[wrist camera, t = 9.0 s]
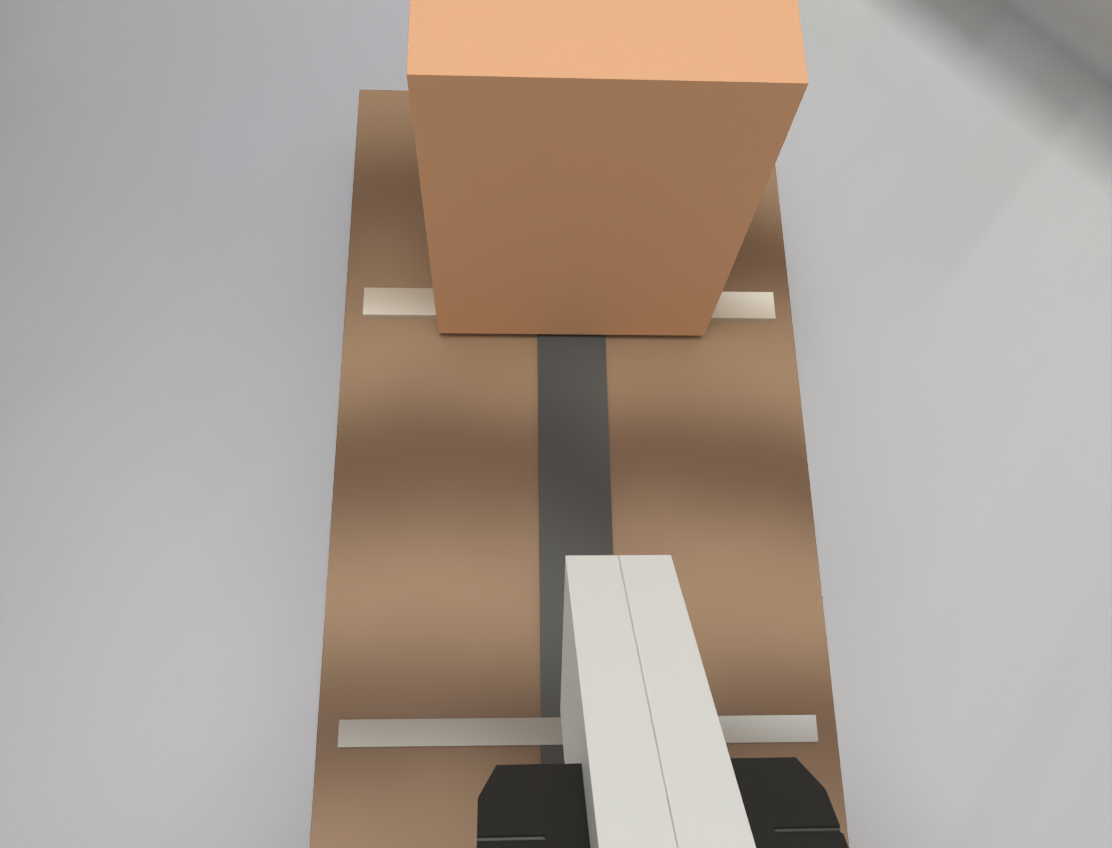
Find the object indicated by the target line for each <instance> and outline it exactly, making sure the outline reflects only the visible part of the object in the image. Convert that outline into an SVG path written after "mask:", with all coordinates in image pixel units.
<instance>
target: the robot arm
mask: <svg viewBox="0 0 1112 848" xmlns="http://www.w3.org/2000/svg"><path fill="white" fill-rule="evenodd" d="M560 714H561V726H562V738H563V750H564V762H565V764H514V765H496V766H495V768H494V770H493V772H492V774H491V775H490V777H489V779H488V781H487V782H486V784H485V786H484V788H483V789H482V791H481V793H480V795H479V797H478V809H477V848H849V847H848V844H847V842H846V839H845V837H844V834H843V833H841V832H840V824H839V822H838V819H837V817H836V814H835V812H834V809H833V806H832V804H831V801H830V799H829V796H828V794H827V791H826V789H825V788H824V787H823V786H822V785H821V783H820V782H819V781H818V780H817V779H816V778H815V777H814V776H813V775H812V774H811V773H810V772H809V771H808V770H807V769H806V768H805V767H804V766H803V764H802V763H801V762H800V761H799V760H798V759H797V758H796V757H772V758H730V756H729V753H728V749H727V746H726V743H725V739H724V736H723V732H722V729H721V725H720V722H719V718H718V715H717V712H716V708H715V705H714V701H713V698H712V694H711V691H710V688H709V684H708V681H707V677H706V674H705V670H704V667H703V664H702V660H701V657H700V653H699V650H698V646H697V643H696V640H695V636H694V633H693V629H692V626H691V622H690V619H689V615H688V612H687V609H686V605H685V602H684V598H683V595H682V591H681V588H680V585H679V581H678V578H677V574H676V571H675V567H674V564H673V561H672V557H671V555H569V556H565V583H564V613H563V642H562V672H561V702H560Z"/></svg>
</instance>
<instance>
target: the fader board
mask: <svg viewBox="0 0 1112 848" xmlns="http://www.w3.org/2000/svg"><path fill="white" fill-rule="evenodd" d="M569 555H671V557H672V561H673V564H674V567H675V571H676V574H677V578H678V581H679V585H680V588H681V591H682V595H683V598H684V602H685V605H686V609H687V612H688V615H689V619H690V622H691V626H692V629H693V633H694V636H695V640H696V643H697V646H698V650H699V653H700V657H701V660H702V664H703V667H704V670H705V674H706V677H707V681H708V684H709V688H710V691H711V694H712V698H713V701H714V705H715V708H716V712H717V715H718V718H719V722H720V725H721V729H722V732H723V736H724V739H725V743H726V746H727V749H728V753H729V756H730V758H772V757H796V758H797V759H798V760H799V761H800V762H801V763H802V764H803V766H804V767H805V768H806V769H807V770H808V771H809V772H810V773H811V774H812V775H813V776H814V777H815V778H816V779H817V780H818V781H819V782H820V783H821V785H822V786H823V787H824V788H825V789H826V791H827V794H828V796H829V799H830V801H831V804H832V806H833V809H834V812H835V814H836V817H837V819H838V822H839V824H840V832H841V833H843V834H844V837H845V839H846V842H847V844H848V847H849V842H848V833H847V824H846V814H845V805H844V796H843V787H842V777H841V768H840V759H839V750H838V740H837V731H836V722H835V713H834V704H833V694H832V685H831V676H830V667H829V657H828V648H827V639H826V630H825V621H824V611H823V602H822V593H821V584H820V574H819V565H818V556H817V547H816V537H815V528H814V519H813V510H812V501H811V491H810V482H809V473H808V464H807V454H806V445H805V436H804V427H803V418H802V408H801V399H800V390H799V381H798V371H797V362H796V353H795V344H794V334H793V325H792V316H791V307H790V298H789V288H788V279H787V270H786V261H785V251H784V242H783V233H782V224H781V215H780V205H779V196H778V187H777V178H776V168H775V165H774V167H773V170H772V172H771V175H770V177H769V180H768V182H767V184H766V187H765V189H764V192H763V194H762V196H761V199H760V201H759V204H758V206H757V209H756V211H755V213H754V216H753V218H752V221H751V223H750V226H749V228H748V230H747V233H746V235H745V238H744V240H743V243H742V245H741V247H740V250H739V252H738V255H737V257H736V260H735V262H734V264H733V267H732V269H731V272H730V274H729V277H728V279H727V281H726V284H725V286H724V289H723V291H722V293H721V296H720V298H719V301H718V303H717V306H716V308H715V310H714V313H713V315H712V318H711V320H710V323H709V325H708V327H707V330H706V332H705V335H704V336H694V335H584V334H474V333H438V326H437V317H436V309H435V301H434V293H433V285H432V276H431V268H430V260H429V252H428V244H427V236H426V227H425V219H424V211H423V203H422V195H421V186H420V178H419V170H418V162H417V154H416V146H415V137H414V129H413V121H412V113H411V105H410V97H409V91H394V90H360V92H359V107H358V122H357V137H356V152H355V168H354V183H353V198H352V213H351V228H350V243H349V259H348V274H347V289H346V304H345V319H344V335H343V350H342V365H341V380H340V395H339V410H338V426H337V441H336V456H335V471H334V486H333V502H332V517H331V532H330V547H329V562H328V577H327V593H326V608H325V623H324V638H323V653H322V669H321V684H320V699H319V714H318V729H317V745H316V760H315V775H314V790H313V805H312V820H311V836H310V848H477V809H478V797H479V795H480V793H481V791H482V789H483V788H484V786H485V784H486V782H487V781H488V779H489V777H490V775H491V774H492V772H493V770H494V768H495V766H496V765H514V764H565V762H564V750H563V738H562V726H561V714H560V702H561V672H562V642H563V613H564V583H565V556H569Z"/></svg>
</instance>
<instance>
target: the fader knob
mask: <svg viewBox="0 0 1112 848" xmlns="http://www.w3.org/2000/svg"><path fill="white" fill-rule="evenodd" d="M407 80H408V88H409V97H410V105H411V113H412V121H413V129H414V137H415V146H416V154H417V162H418V170H419V178H420V186H421V195H422V203H423V211H424V219H425V227H426V236H427V244H428V252H429V260H430V268H431V276H432V285H433V293H434V301H435V309H436V317H437V326H438V333H474V334H584V335H694V336H704V335H705V332H706V330H707V327H708V325H709V323H710V320H711V318H712V315H713V313H714V310H715V308H716V306H717V303H718V301H719V298H720V296H721V293H722V291H723V289H724V286H725V284H726V281H727V279H728V277H729V274H730V272H731V269H732V267H733V264H734V262H735V260H736V257H737V255H738V252H739V250H740V247H741V245H742V243H743V240H744V238H745V235H746V233H747V230H748V228H749V226H750V223H751V221H752V218H753V216H754V213H755V211H756V209H757V206H758V204H759V201H760V199H761V196H762V194H763V192H764V189H765V187H766V184H767V182H768V180H769V177H770V175H771V172H772V170H773V167H774V165H775V163H776V160H777V158H778V155H779V153H780V150H781V148H782V146H783V143H784V141H785V138H786V136H787V133H788V131H789V129H790V126H791V124H792V121H793V119H794V116H795V114H796V112H797V109H798V107H799V104H800V102H801V100H802V97H803V95H804V92H805V90H806V87H807V85H808V78H807V70H806V62H805V54H804V46H803V38H802V30H801V23H800V15H799V7H798V0H410V16H409V38H408V59H407Z"/></svg>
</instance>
